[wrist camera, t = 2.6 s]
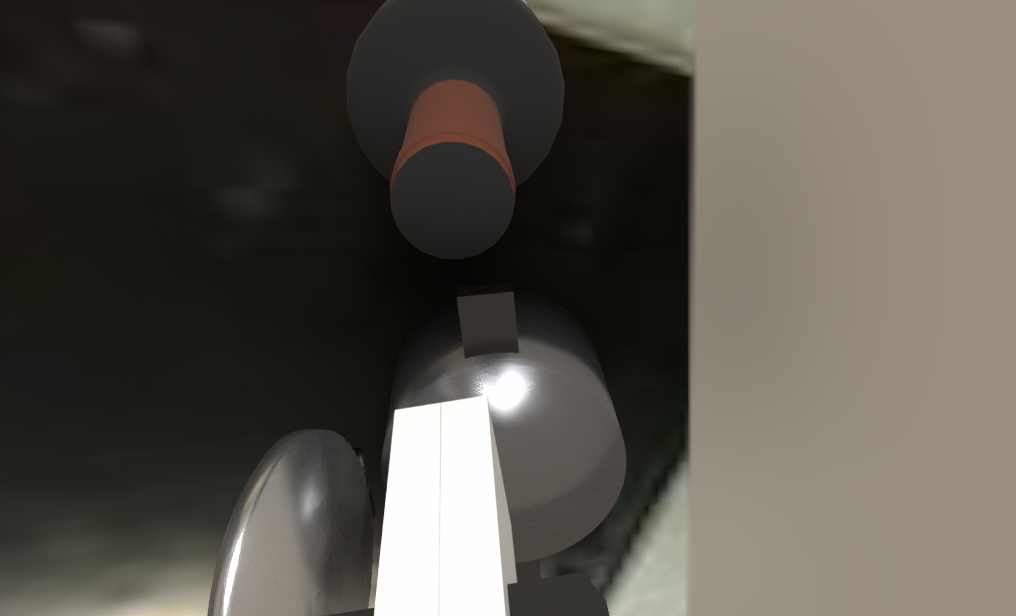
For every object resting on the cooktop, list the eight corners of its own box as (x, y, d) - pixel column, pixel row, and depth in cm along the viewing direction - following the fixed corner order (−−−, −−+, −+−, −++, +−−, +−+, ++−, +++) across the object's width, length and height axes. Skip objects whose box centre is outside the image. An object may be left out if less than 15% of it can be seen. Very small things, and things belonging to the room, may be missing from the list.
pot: (417, 511, 60) (409, 618, 51) (369, 247, 50) (349, 320, 41) (605, 492, 60) (630, 594, 51) (593, 224, 50) (621, 292, 41)
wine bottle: (379, -39, 43) (239, 44, 16) (519, -55, 43) (615, 2, 16) (401, 103, 46) (317, 368, 19) (531, 88, 46) (628, 333, 19)
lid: (392, 579, 50) (365, 577, 50) (348, 362, 43) (316, 362, 43) (281, 857, 36) (244, 851, 36) (187, 599, 29) (142, 595, 29)
